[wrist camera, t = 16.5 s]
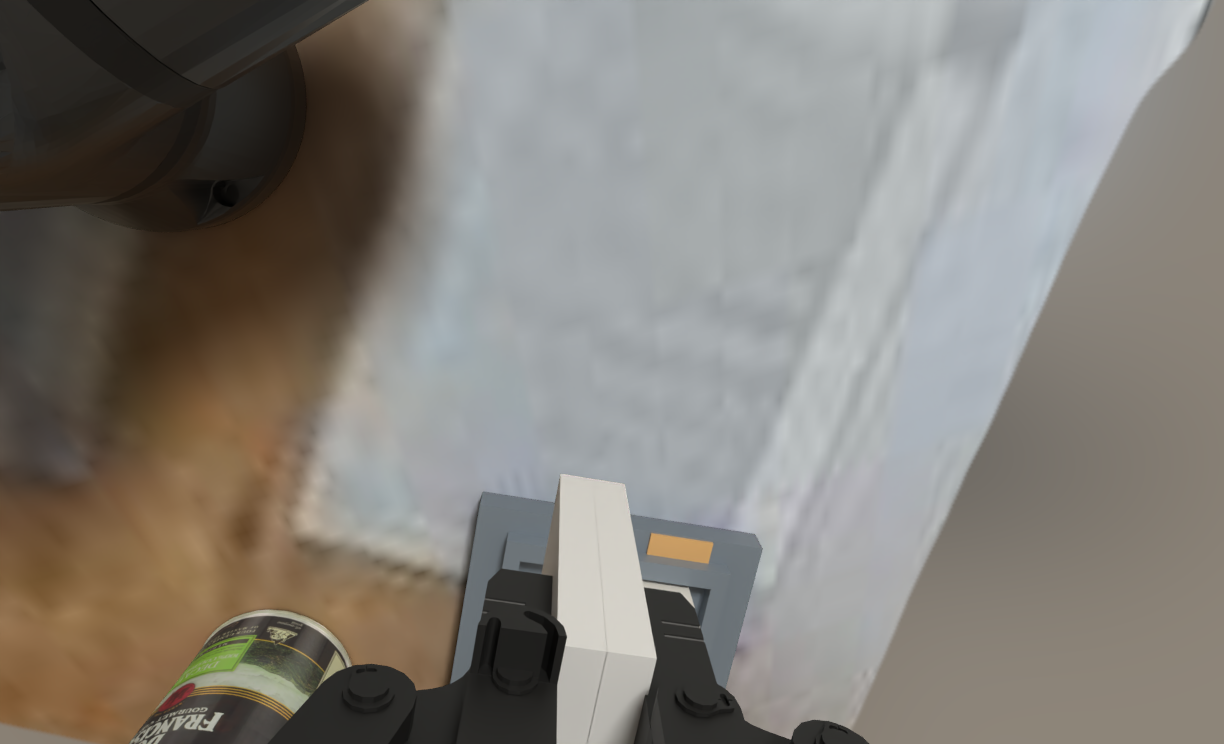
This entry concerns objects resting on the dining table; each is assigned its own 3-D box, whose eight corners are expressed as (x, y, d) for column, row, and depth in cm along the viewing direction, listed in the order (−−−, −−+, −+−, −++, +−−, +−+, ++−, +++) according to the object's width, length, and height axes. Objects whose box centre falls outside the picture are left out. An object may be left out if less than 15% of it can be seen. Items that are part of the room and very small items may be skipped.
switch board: (447, 705, 53) (440, 738, 49) (483, 491, 49) (477, 513, 46) (701, 737, 54) (710, 771, 51) (755, 534, 51) (767, 557, 47)
